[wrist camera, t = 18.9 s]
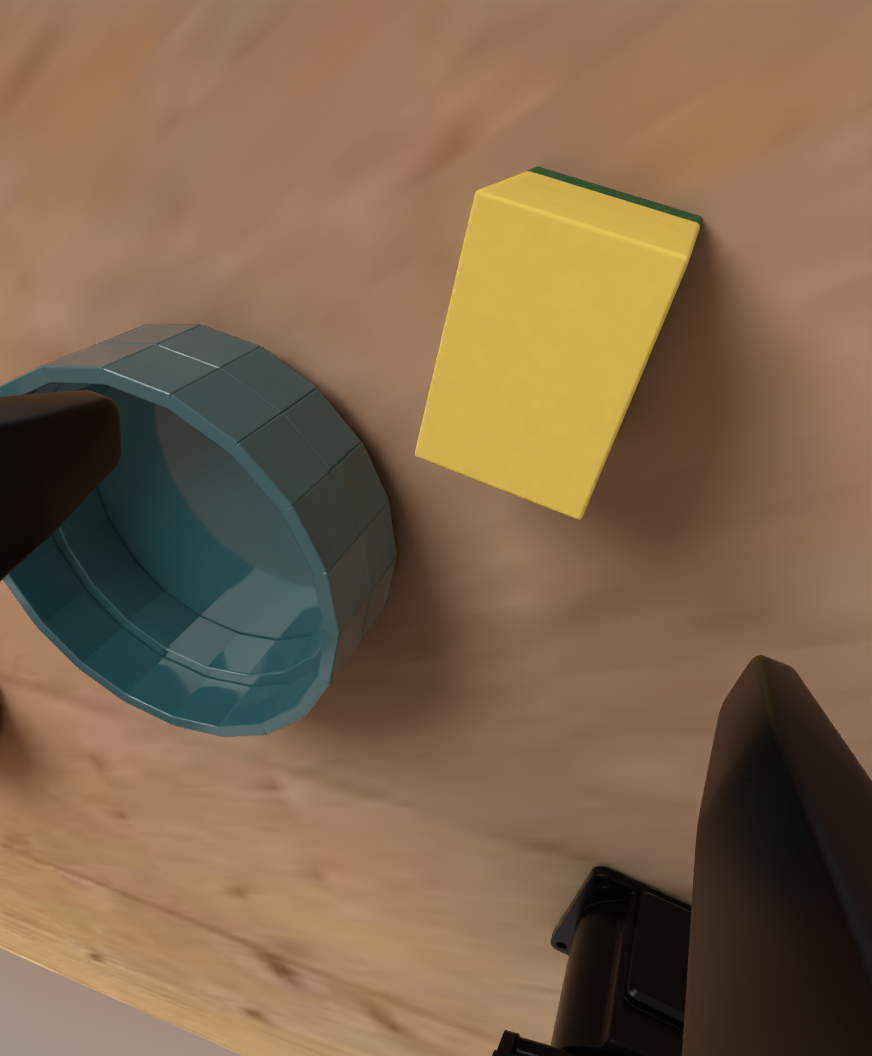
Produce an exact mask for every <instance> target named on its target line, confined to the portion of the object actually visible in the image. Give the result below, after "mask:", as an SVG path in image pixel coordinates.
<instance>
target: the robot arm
mask: <svg viewBox="0 0 872 1056" xmlns="http://www.w3.org/2000/svg"><path fill="white" fill-rule="evenodd" d="M121 453H122V446H121V428H120V412H119V408H118V405H117V403H116V402H115V401H114V400H112V399H110V398H108V397H105V396H103V395H100V394H98V393H95V392H93V391H88V390H82V391H69V392H55V393H41V394H28V395H14V396H1V397H0V581H1V580H2V579H3V578H5V577H6V576H7V575H8V574H9V573H10V572H11V571H13V570H14V569H15V568H16V567H17V566H18V565H19V564H21V563H22V562H23V561H24V560H25V559H26V558H28V557H29V556H30V555H31V554H32V553H33V552H34V551H36V550H37V549H38V548H39V547H40V546H41V545H42V544H43V543H44V542H45V541H47V540H48V539H49V538H50V537H51V536H52V535H53V534H54V533H55V532H56V531H57V530H58V529H59V528H60V526H61V525H62V524H63V523H64V522H65V521H66V520H67V519H68V518H69V517H70V516H71V515H72V514H73V513H74V511H75V510H76V509H77V508H78V507H79V506H80V505H81V504H82V503H83V502H84V501H85V500H86V499H87V498H88V497H89V495H90V494H91V493H92V492H93V491H94V490H95V489H96V488H97V487H98V486H99V485H100V484H101V483H102V482H103V481H104V479H105V478H106V477H107V476H108V475H109V474H110V473H111V472H112V471H113V470H114V469H115V467H116V466H117V464H118V463H119V460H120V458H121ZM551 945H552V946H553V947H554V948H555V949H557V950H558V951H560V952H562V953H564V954H566V955H569V958H568V963H567V967H566V972H565V977H564V982H563V987H562V992H561V997H560V1002H559V1007H558V1012H557V1016H556V1021H555V1026H554V1031H553V1036H552V1041H551V1046H550V1045H546V1044H543V1043H539V1042H536V1041H532V1040H529V1039H525V1038H522V1037H520V1035H519V1034H518V1033H515V1032H511V1031H508V1030H505V1031H504V1033H503V1036H502V1038H501V1041H500V1044H499V1046H498V1049H497V1050H494V1052H493V1055H492V1056H872V781H871V779H870V778H869V776H868V775H867V773H866V772H865V770H864V769H863V768H862V766H861V765H860V763H859V762H858V760H857V759H856V757H855V756H854V755H853V753H852V752H851V750H850V749H849V747H848V746H847V744H846V743H845V742H844V740H843V739H842V737H841V736H840V734H839V733H838V731H837V730H836V729H835V727H834V726H833V724H832V723H831V721H830V720H829V718H828V717H827V716H826V714H825V713H824V711H823V710H822V708H821V707H820V705H819V704H818V703H817V701H816V700H815V698H814V697H813V695H812V694H811V692H810V691H809V690H808V688H807V687H806V685H805V684H804V682H803V681H802V679H801V678H800V677H799V675H798V674H797V672H796V671H795V670H794V669H793V668H792V667H791V666H789V665H786V664H784V663H781V662H779V661H776V660H774V659H771V658H768V657H766V656H763V655H759V656H756V657H754V658H753V659H752V660H751V661H750V663H749V664H748V665H747V667H746V668H745V670H744V671H743V673H742V674H741V676H740V677H739V679H738V680H737V682H736V684H735V685H734V687H733V688H732V690H731V691H730V693H729V694H728V696H727V697H726V699H725V701H724V703H723V705H722V707H721V710H720V713H719V717H718V722H717V727H716V732H715V737H714V742H713V747H712V752H711V757H710V762H709V767H708V772H707V777H706V782H705V788H704V793H703V798H702V803H701V808H700V814H699V820H698V825H697V836H696V847H695V863H694V878H693V894H692V907H691V906H688V905H686V904H684V903H682V902H680V901H678V900H675V899H673V898H671V897H669V896H667V895H665V894H662V893H660V892H658V891H656V890H654V889H652V888H649V887H647V886H645V885H643V884H641V883H639V882H637V881H634V880H632V879H630V878H628V877H626V876H624V875H621V874H619V873H617V872H615V871H613V870H611V869H608V868H606V867H600V866H598V867H595V868H593V869H592V871H591V872H590V874H589V875H588V877H587V879H586V880H585V882H584V883H583V885H582V887H581V888H580V890H579V891H578V893H577V895H576V896H575V898H574V899H573V901H572V902H571V904H570V906H569V907H568V909H567V910H566V912H565V914H564V915H563V917H562V918H561V920H560V922H559V923H558V925H557V926H556V928H555V929H554V931H553V934H552V938H551Z"/></svg>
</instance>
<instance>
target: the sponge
mask: <svg viewBox="0 0 872 1056" xmlns="http://www.w3.org/2000/svg"><path fill="white" fill-rule="evenodd" d="M702 220H703V218H702V217H701V216H698V215H694V214H691V213H688V212H685V211H681V210H678V209H675V208H672V207H668V206H665V205H662V204H658V203H655V202H652V201H649V200H645V199H642V198H639V197H636V196H632V195H629V194H626V193H622V192H619V191H616V190H613V189H609V188H606V187H603V186H600V185H596V184H593V183H590V182H586V181H583V180H580V179H577V178H573V177H570V176H567V175H564V174H560V173H557V172H554V171H550V170H547V169H544V168H541V167H535V168H533V169H530V170H528V171H527V172H524V173H521V174H519V175H516V176H514V177H511V178H508V179H506V180H503V181H501V182H498V183H495V184H493V185H490V186H488V187H485V188H483V189H480V190H477V192H476V193H475V196H474V200H473V205H472V209H471V213H470V218H469V222H468V226H467V230H466V235H465V239H464V243H463V248H462V252H461V256H460V261H459V265H458V269H457V274H456V278H455V282H454V286H453V291H452V295H451V299H450V304H449V308H448V312H447V317H446V321H445V325H444V329H443V334H442V338H441V342H440V347H439V351H438V355H437V360H436V364H435V368H434V373H433V377H432V381H431V385H430V390H429V394H428V398H427V403H426V407H425V411H424V416H423V420H422V424H421V429H420V433H419V437H418V441H417V446H416V450H415V456H416V457H418V458H421V459H423V460H426V461H428V462H431V463H433V464H436V465H439V466H441V467H444V468H446V469H449V470H451V471H454V472H457V473H459V474H462V475H464V476H467V477H469V478H472V479H475V480H477V481H480V482H482V483H485V484H487V485H490V486H493V487H495V488H498V489H500V490H503V491H505V492H508V493H511V494H513V495H516V496H518V497H521V498H523V499H526V500H528V501H531V502H534V503H536V504H539V505H541V506H544V507H546V508H549V509H552V510H554V511H557V512H559V513H562V514H564V515H567V516H570V517H572V518H575V519H578V520H580V519H581V518H582V517H583V515H584V512H585V510H586V508H587V505H588V503H589V500H590V498H591V496H592V493H593V491H594V488H595V486H596V484H597V481H598V479H599V476H600V474H601V472H602V469H603V467H604V464H605V462H606V460H607V457H608V455H609V452H610V450H611V448H612V445H613V443H614V440H615V438H616V436H617V433H618V431H619V428H620V426H621V423H622V421H623V419H624V416H625V414H626V411H627V409H628V407H629V404H630V402H631V399H632V397H633V395H634V392H635V390H636V387H637V385H638V383H639V380H640V378H641V375H642V373H643V371H644V368H645V366H646V363H647V361H648V359H649V356H650V354H651V351H652V349H653V347H654V344H655V342H656V339H657V337H658V335H659V332H660V330H661V327H662V325H663V323H664V320H665V318H666V315H667V313H668V311H669V308H670V306H671V303H672V301H673V299H674V296H675V294H676V291H677V289H678V287H679V284H680V282H681V279H682V277H683V275H684V272H685V270H686V267H687V265H688V263H689V260H690V257H691V254H692V251H693V248H694V245H695V241H696V238H697V235H698V232H699V229H700V226H701V224H702Z"/></svg>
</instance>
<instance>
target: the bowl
mask: <svg viewBox="0 0 872 1056" xmlns="http://www.w3.org/2000/svg"><path fill="white" fill-rule="evenodd" d="M82 390H88V391H93V392H95V393H98V394H100V395H103V396H105V397H108V398H110V399H112V400H114V401H115V402H116V403H117V405H118V408H119V412H120V428H121V446H122V453H121V458H120V460H119V463H118V464H117V466H116V467H115V469H114V470H113V471H112V472H111V473H110V474H109V475H108V476H107V477H106V478H105V479H104V481H103V482H102V483H101V484H100V485H99V486H98V487H97V488H96V489H95V490H94V491H93V492H92V493H91V494H90V495H89V497H88V498H87V499H86V500H85V501H84V502H83V503H82V504H81V505H80V506H79V507H78V508H77V509H76V510H75V511H74V513H73V514H72V515H71V516H70V517H69V518H68V519H67V520H66V521H65V522H64V523H63V524H62V525H61V526H60V528H59V529H58V530H57V531H56V532H55V533H54V534H53V535H52V536H51V537H50V538H49V539H48V540H47V541H45V542H44V543H43V544H42V545H41V546H40V547H39V548H38V549H37V550H36V551H34V552H33V553H32V554H31V555H30V556H29V557H28V558H26V559H25V560H24V561H23V562H22V563H21V564H19V565H18V566H17V567H16V568H15V569H14V570H13V571H11V572H10V573H9V574H8V575H7V576H6V577H5V578H3V581H4V582H5V583H6V585H7V586H8V588H9V589H10V590H11V592H12V593H13V595H14V596H15V597H16V599H17V600H18V602H19V603H20V604H21V606H22V607H23V609H24V610H25V611H26V613H27V614H28V616H29V617H30V618H31V620H32V621H33V623H34V624H35V625H36V626H37V628H38V629H39V630H40V631H41V632H42V633H43V634H44V635H45V636H46V637H47V638H48V639H49V640H50V641H51V642H52V643H53V644H54V645H55V646H56V647H57V648H58V649H59V650H60V651H61V652H62V653H63V654H64V655H65V656H66V657H67V658H68V659H69V660H70V661H71V662H72V663H73V664H74V665H75V666H76V667H78V668H79V669H80V670H81V671H83V672H84V673H85V674H87V675H88V676H90V677H91V678H92V679H94V680H95V681H96V682H98V683H99V684H101V685H102V686H103V687H105V688H106V689H108V690H109V691H110V692H112V693H113V694H115V695H116V696H117V697H119V698H120V699H121V700H123V701H125V702H126V703H128V704H130V705H132V706H134V707H136V708H138V709H141V710H143V711H145V712H147V713H149V714H151V715H153V716H155V717H157V718H159V719H161V720H164V721H166V722H168V723H170V724H172V725H175V726H178V727H182V728H187V729H191V730H195V731H199V732H203V733H208V734H212V735H216V736H220V737H222V736H223V737H234V736H254V735H267V734H270V733H272V732H275V731H277V730H279V729H281V728H283V727H285V726H287V725H289V724H292V723H294V722H296V721H298V720H300V719H302V718H304V717H305V716H307V715H308V713H309V712H310V711H311V709H312V708H313V707H314V705H315V704H316V703H317V701H318V700H319V699H320V697H321V696H322V695H323V693H324V692H325V691H326V689H327V688H328V687H329V686H330V684H331V683H332V681H333V680H334V678H335V677H336V676H337V674H338V673H339V671H340V670H341V668H342V667H343V666H344V664H345V663H346V661H347V660H348V658H349V657H350V656H351V654H352V653H353V651H354V650H355V648H356V647H357V645H358V644H359V642H360V641H361V640H362V638H363V637H364V635H365V634H366V633H367V631H368V630H369V628H370V627H371V625H372V624H373V623H374V621H375V620H376V618H377V617H378V615H379V614H380V612H381V611H382V610H383V608H384V607H385V605H386V603H387V600H388V595H389V591H390V586H391V582H392V577H393V573H394V568H395V564H396V559H397V558H396V548H395V541H394V533H393V526H392V519H391V512H390V504H389V502H388V501H389V499H388V496H387V494H386V492H385V490H384V488H383V486H382V483H381V481H380V479H379V477H378V475H377V472H376V470H375V468H374V466H373V464H372V462H371V459H370V457H369V455H368V453H367V451H366V448H365V446H364V444H363V442H361V441H360V439H359V438H358V437H357V435H356V434H355V433H354V432H353V430H352V429H351V428H350V427H349V426H348V424H347V423H346V422H345V421H344V420H343V418H342V417H341V416H340V415H339V413H338V412H337V411H336V410H335V409H334V407H333V406H332V405H331V404H330V402H329V401H328V400H327V399H326V398H325V396H324V395H323V394H322V393H321V392H320V390H318V389H317V387H316V386H315V385H314V384H312V383H311V382H310V381H308V380H307V379H306V378H304V377H303V376H301V375H300V374H299V373H297V372H296V371H295V370H293V369H292V368H290V367H289V366H288V365H286V364H285V363H284V362H282V361H281V360H280V359H278V358H277V357H275V356H274V355H273V354H271V353H270V352H269V351H267V350H266V349H264V348H263V347H260V346H259V345H256V344H253V343H251V342H248V341H245V340H242V339H239V338H237V337H234V336H231V335H228V334H226V333H223V332H220V331H217V330H215V329H212V328H209V327H206V326H204V325H199V324H147V325H143V326H141V327H138V328H136V329H133V330H131V331H128V332H126V333H123V334H121V335H118V336H116V337H113V338H110V339H108V340H105V341H103V342H100V343H98V344H95V345H93V346H90V347H88V348H85V349H83V350H80V351H78V352H75V353H72V354H70V355H67V356H65V357H62V358H60V359H57V360H55V361H52V362H50V363H47V364H45V365H42V366H40V367H38V368H36V369H33V370H31V371H29V372H27V373H25V374H23V375H21V376H19V377H16V378H14V379H12V380H10V381H8V382H6V383H4V384H2V385H0V397H1V396H14V395H28V394H41V393H55V392H69V391H82Z"/></svg>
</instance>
